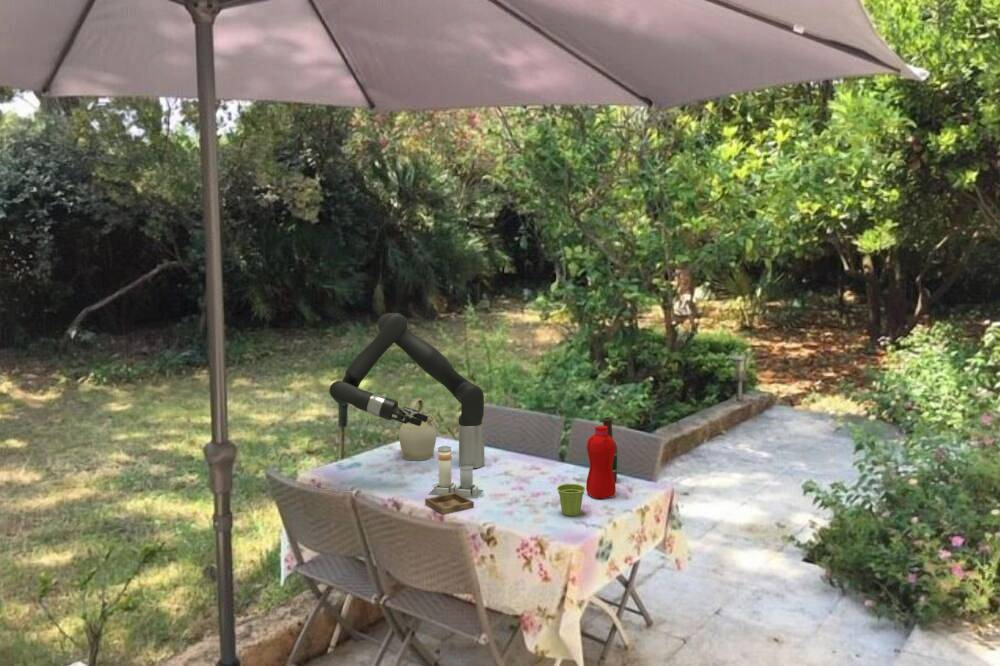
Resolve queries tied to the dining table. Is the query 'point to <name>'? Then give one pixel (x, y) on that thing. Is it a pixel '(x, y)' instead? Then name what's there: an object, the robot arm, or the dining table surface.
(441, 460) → the cylinder
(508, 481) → the dining table surface
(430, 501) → the tray
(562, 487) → the plant pot
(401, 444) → the jug
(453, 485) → the clip block
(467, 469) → the fuse
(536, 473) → the dining table surface
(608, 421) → the beer bottle
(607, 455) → the water bottle
